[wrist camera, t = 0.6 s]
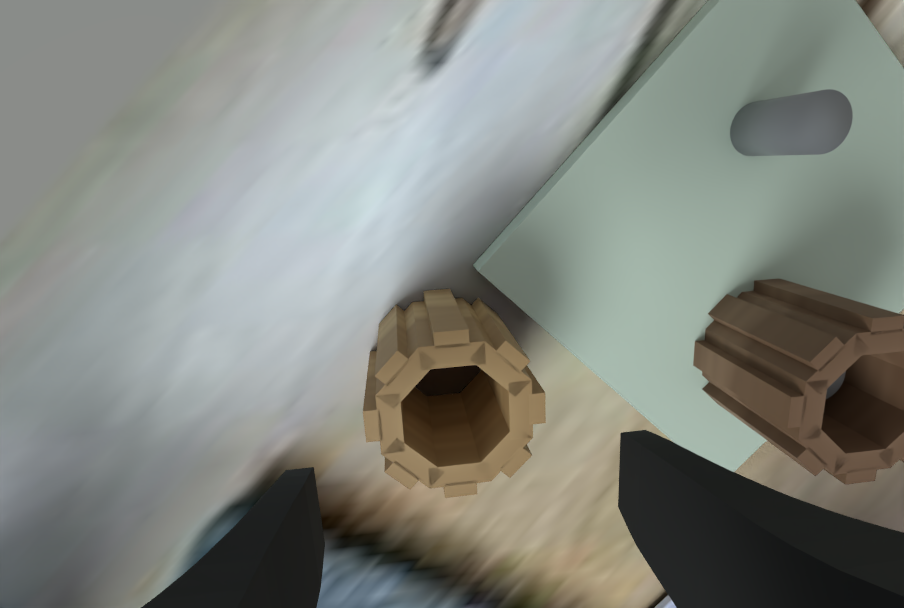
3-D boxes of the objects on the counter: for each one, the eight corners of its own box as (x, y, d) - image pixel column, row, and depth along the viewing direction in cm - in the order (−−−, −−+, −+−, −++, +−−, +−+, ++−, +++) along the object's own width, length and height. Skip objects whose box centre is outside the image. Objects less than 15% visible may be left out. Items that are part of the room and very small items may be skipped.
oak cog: (537, 347, 20) (581, 404, 16) (447, 444, 21) (463, 526, 16) (434, 260, 19) (449, 292, 14) (341, 366, 20) (325, 431, 15)
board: (971, 208, 21) (1108, 219, 17) (704, 467, 23) (771, 532, 19) (768, -68, 17) (881, -138, 13) (472, 265, 19) (494, 291, 15)
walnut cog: (849, 337, 21) (989, 391, 16) (750, 434, 21) (854, 513, 16) (769, 249, 19) (895, 278, 14) (666, 355, 20) (753, 417, 15)
